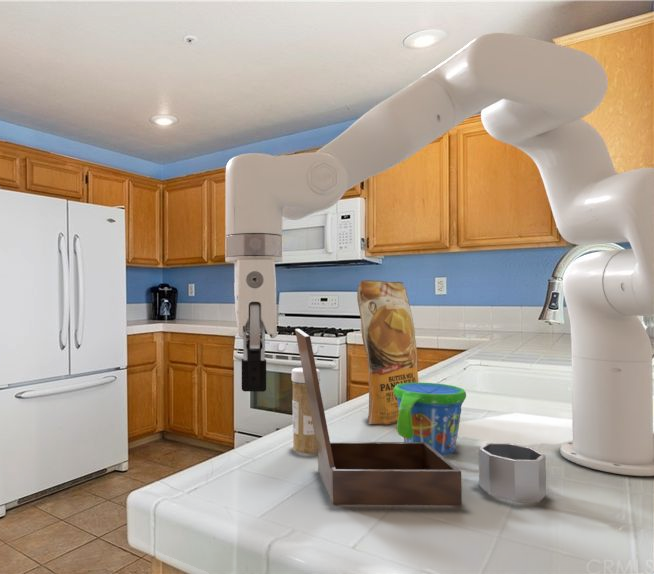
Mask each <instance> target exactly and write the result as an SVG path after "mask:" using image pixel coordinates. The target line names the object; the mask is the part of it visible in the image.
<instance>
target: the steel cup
mask: <svg viewBox="0 0 654 574" xmlns="http://www.w3.org/2000/svg"><path fill="white" fill-rule="evenodd" d="M546 457H547V455H546V454H545V453H542V452H540V451H538V450H537V449H535V448H533V447H529V446H523V445H519V444H515V443H510V442H486V443H485V444H483V445H481V446H480V447H478V485H479V487H480V488H481V489H482V490H483V491H485V492H486V493H487V494H488V495H490V496H493V497H496V498H499V499H503V500H506V501H510V502H514V503H540V502H541V501H542V500H543V499H544V498H545V497H546V496H547V458H546Z"/></svg>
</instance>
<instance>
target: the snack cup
mask: <svg viewBox="0 0 654 574" xmlns="http://www.w3.org/2000/svg"><path fill="white" fill-rule="evenodd" d="M394 394H395V396H396V398H397V400H398V404H399V416H398V422H396V432H397V434H398V435H399V436H400V437H401V438H402V439H403V442H426V443H427V444H429V445H430V446H431V447H432V448H434V449H435V450H436V451H437V452H438V453H440V454H441V455H442V456H444V455H445V456H446V455H449V454H453V453H454V452H455V450H456V448H457V439H458V435H459V429H460V423H461V414H462V406H463V403H464V402H465V400H466V397H467V392H466V390H464V388H462V387H458V386H455V385H451V384H444V383H435V382H418V383H401V384H397V385H396V386H395V387H394Z"/></svg>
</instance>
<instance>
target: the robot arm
mask: <svg viewBox="0 0 654 574" xmlns="http://www.w3.org/2000/svg"><path fill="white" fill-rule="evenodd" d="M607 75H608V74H607V73H606V70H605V67H603V65H602V63H600V61H598V59H596V58H595V57H594V56H592V55H591V54H589V53H587V52H585V51H582V50H580V49H576V48H573V47H569V46H565V45H561V44H557V43H553V42H550V41H549V42H548V41H545V40H542V39H538V38H534V37H529V36H525V35H519V34H514V33H505V32H491V33H485V34H482V35H479V36H478V37H476V38H474V39H473V40H471V41H470V42H469V43H467V44H466V45H464V46H463V48H461V49H460V50H458V51H457V52H455V53H454V54H453V55H452V56H450V57H449V58H447V59H446V60H445V61H443V62H441V63H440V64H438V65H437V66H436V67H435V68H433V69H431V70H430V71H428V72H427V73H425V74H423V75H422V76H420V77H419V78H417V79H416V80H414V81H413V82H411V83H410V84H408V85H406V86H405V87H403V88H402V89H400V90H399V91H397V92H396V93H393V94H392V95H390V96H389V97H388V98H386V99H384V100H382V101H381V102H379V103H378V104H376V105H375V106H374V107H372V108H371V109H369V110H368V111H367V112H365V113H364V114H363V115H361V116H360V117H359V118H358V119H356V120H355V121H354V122H353V123H352V124H351V125H349V127H347V128H346V129H345V130H344V131H343V132H341V133H340V134H339V135H338V136H336V137H335V138H334V139H332V140H330V141H329V142H328V143H327V144H325V145H324V146H322V147H321V148H319V149H318V150H316V151H315V152H304V153H295V154H285V155H272V154H267V153H262V152H261V153H260V152H251V153H243V154H238V155H236V156H233V157H232V158H231V159H229V161H228V162H227V163H226V166H225V182H224V183H225V185H224V186H225V203H224V204H225V206H224V207H225V209H224V210H225V215H224V216H225V217H224V218H225V219H224V220H225V224H224V225H225V226H224V228H225V229H224V230H225V240H224V242H225V248H224V249H225V256H224V257H225V263H231V264H234V307H235V309H234V310H235V320H236V328H237V333H238V337H239V338H241V339H242V342H243V343H242V344H243V345H242V346H243V356H242V357H243V358H241V391H243V392H253V393H254V392H257V393H258V392H259V393H260V392H266V391H267V358H266V334H267V335H269V337H270V339H275V338H276V337H277V336H278V327H277V323H278V322H277V277H276V275H277V274H276V264H277V263H282V262H283V218H284V219H287V220H290V221H301V220H304V219H307V218H310V217H311V216H313V215H316V214H319V213H321V212H325V210H328V209H330V208H333V206H335V205H336V204H337V203H339V202H340V200H341V198H343V196H344V195H345V193H346V192H347V191H349V190H351V189H352V188H354V187H356V186H357V185H359V184H361V183H362V182H364V181H366V180H368V179H370V178H372V177H375V176H377V175H380V174H382V173H383V172H385V171H388V170H390V169H392V168H394V167H395V166H397V165H399V164H401V163H402V162H404V161H406V160H408V159H409V158H410V157H412V156H414V155H415V154H417V153H418V152H419V151H421V150H423V149H424V148H426V147H427V146H429V145H430V144H431V143H433V142H434V141H436V140H438V139H439V138H440V137H442V136H444V135H445V134H446V133H448V132H449V131H451V130H452V129H454V128H456V127H457V126H458V125H460V124H462V123H463V122H465V121H466V120H468V119H470V118H471V117H473V116H474V115H476V114H477V113H479V112H480V120H481V124H482V126H483V127H484V130H485V131H486V132H487V133H488V134H489V136H491V137H492V138H494V139H495V140H496V141H499V142H502V143H505V144H507V145H510V146H513V147H514V148H516V149H518V150H520V151H522V152H523V153H524V154H526V155H527V156H528V157H529V158H530V159H531V160H532V161H533V162H534V164H535V165H536V167H537V169H538V171H539V174H540V177H541V180H542V183H543V185H544V186H543V187H544V189H545V192H546V196H547V199H548V203H549V206H550V209H551V213H552V216H553V220H554V222H555V225H556V228H557V231H558V232H559V234H560V236H561V238H562V239H564V241H566V242H568V243H570V244H573V245H577V246H593V245H605V244H606V245H607V244H616V243H617V244H618V243H626V242H629V245H630V247H631V248H623V249H612V250H602V251H596V252H591V253H587V254H584V255H581V256H579V257H577V258H576V259H574V260H573V261H572V262H571V263H569V265H568V266H567V267H566V269H565V271H564V274H563V276H562V282H561V283H562V293H563V297H564V301H565V305H566V308H567V313H568V319H569V325H570V326H569V327H570V344H571V345H570V346H571V351H570V352H571V417H572V418H571V420H572V421H571V422H572V424H571V425H572V427H571V429H572V430H571V431H572V441H568V442H563V443H562V444H561V445H560V455H561V456H562V457H564V458H565V459H566V460H568V461H570V462H572V463H574V464H577V465H579V466H582V467H585V468H589V469H593V470H596V471H601V472H606V473H609V474H610V473H611V474H616V475H617V474H618V475H623V476H635V477H654V402H653V401H654V397H653V389H654V388H653V347H652V342H651V339H650V336H649V334H648V331H647V329H646V328H645V326H644V325H643V323H642V322H641V320H640V319H639V317H654V167H639V168H636V169H635V168H634V169H630V170H627V171H623V172H619V173H618V172H617V170H616V168H615V165H614V163H613V161H612V157H611V155H610V152H609V150H608V146H607V144H606V142H605V140H604V138H603V136H602V135H601V134H600V132H598V130H597V129H596V128H595V127H594V126H593V125H591V124H590V123H589V122H587V121H585V120H584V119H583V118H585V117H586V116H588V115H590V114H591V113H592V112H594V111H595V110H596V109H597V108H598V107H599V106H600V105H601V103H603V100H604V98H605V97H606V94H607V92H608V85H609V84H608V83H609V81H608V76H607Z"/></svg>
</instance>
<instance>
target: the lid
mask: <svg viewBox="0 0 654 574" xmlns="http://www.w3.org/2000/svg"><path fill="white" fill-rule="evenodd" d="M294 330H295V337H296V342H297V347H298V353H299V358H300V363H301V368H302V369H303V375H304V380H305V385H306V391H307V396H308V401H309V407H310V412H311V417H312V423H313V428H314V433H315V438H316V441H317V443H318V445H319V447H320V449H321V451H322V453H323V455H324V457H325V459H326V461H327V463H328V465H329V467H330V468H334V467H335V466H334V461H333V455H332V450H331V445H330V442H331V440H330V435H329V434H330V433H329V430H328V429H329V428H328V424H327V419H326V413H325V407H324V403H323V398H322V397H323V396H322V392H321V387H320V381H318V376H317V370H316V369H317V365H316V360H315V353H314V350H313V345H312V339H311V336H310V335H309V334H308V333H306V332H304V331H303V330H302V329H300V328H295V329H294Z"/></svg>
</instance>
